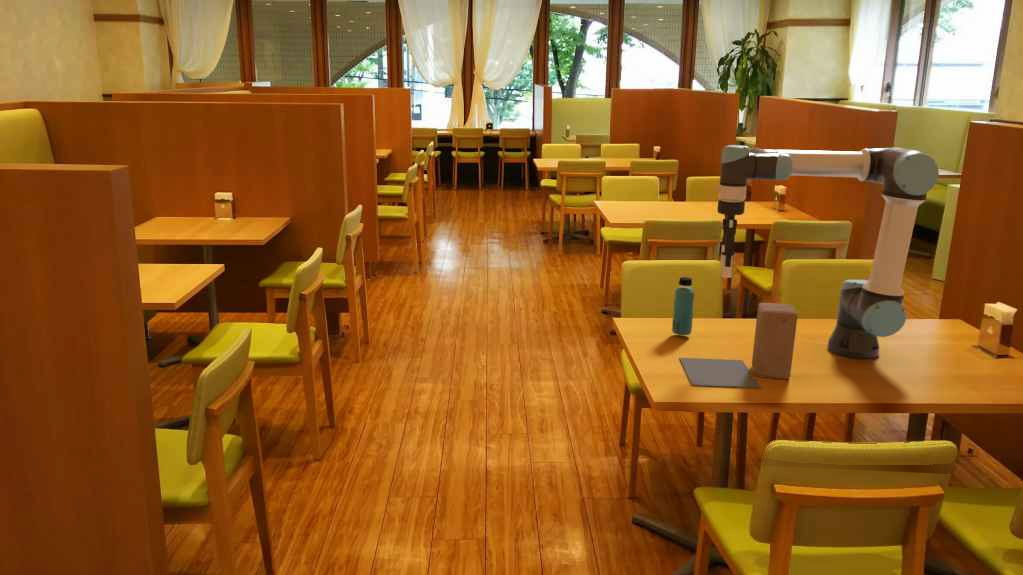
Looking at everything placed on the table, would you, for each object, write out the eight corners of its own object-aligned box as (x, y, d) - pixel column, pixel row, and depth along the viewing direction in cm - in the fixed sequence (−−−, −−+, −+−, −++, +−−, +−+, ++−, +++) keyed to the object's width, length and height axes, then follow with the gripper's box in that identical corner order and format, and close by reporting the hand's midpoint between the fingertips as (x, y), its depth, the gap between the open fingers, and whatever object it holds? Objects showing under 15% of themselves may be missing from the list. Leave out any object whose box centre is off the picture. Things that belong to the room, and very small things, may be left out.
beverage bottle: (694, 336, 271) (699, 277, 265) (686, 341, 265) (692, 281, 260) (675, 332, 274) (680, 274, 269) (667, 337, 269) (672, 278, 263)
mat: (742, 361, 248) (742, 360, 248) (760, 388, 227) (760, 387, 227) (679, 358, 249) (679, 357, 248) (691, 385, 227) (691, 384, 227)
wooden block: (790, 380, 233) (798, 313, 228) (753, 377, 235) (761, 310, 230) (786, 368, 243) (793, 304, 238) (751, 365, 245) (758, 301, 240)
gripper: (717, 193, 248) (711, 261, 253) (719, 206, 224) (713, 281, 230) (742, 194, 246) (736, 263, 252) (747, 207, 223) (741, 282, 228)
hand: (725, 271), depth 241 cm, fingers open, 13 cm apart
